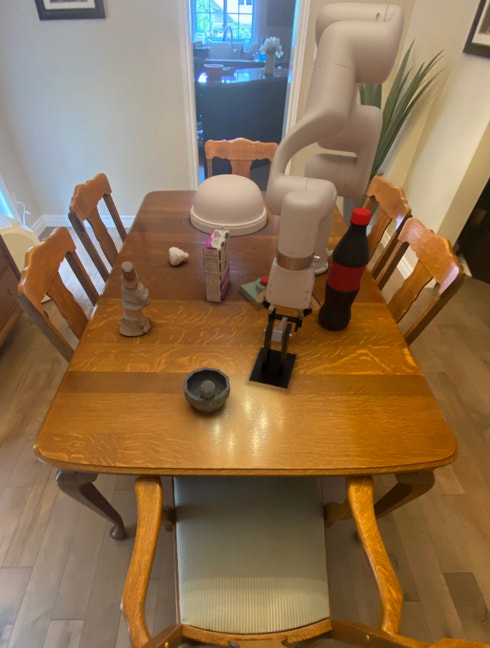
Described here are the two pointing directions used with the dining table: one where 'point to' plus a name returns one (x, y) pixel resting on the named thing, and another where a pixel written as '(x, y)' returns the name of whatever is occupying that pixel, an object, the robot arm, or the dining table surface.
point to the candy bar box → (216, 265)
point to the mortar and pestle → (206, 389)
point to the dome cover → (228, 205)
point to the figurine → (133, 302)
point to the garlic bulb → (177, 256)
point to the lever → (281, 326)
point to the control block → (252, 291)
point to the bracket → (274, 360)
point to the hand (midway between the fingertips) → (284, 326)
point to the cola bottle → (346, 273)
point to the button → (264, 281)
